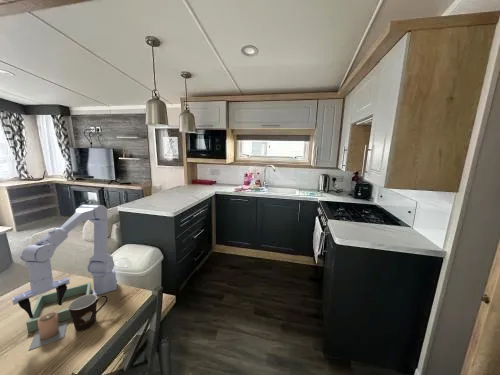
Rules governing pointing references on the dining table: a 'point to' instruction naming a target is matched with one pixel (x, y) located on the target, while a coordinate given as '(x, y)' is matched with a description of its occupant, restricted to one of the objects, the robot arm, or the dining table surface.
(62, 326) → the slate mat
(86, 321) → the coffee mug
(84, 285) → the green square frame
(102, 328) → the dining table surface
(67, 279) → the robot arm
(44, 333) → the pink plant pot
